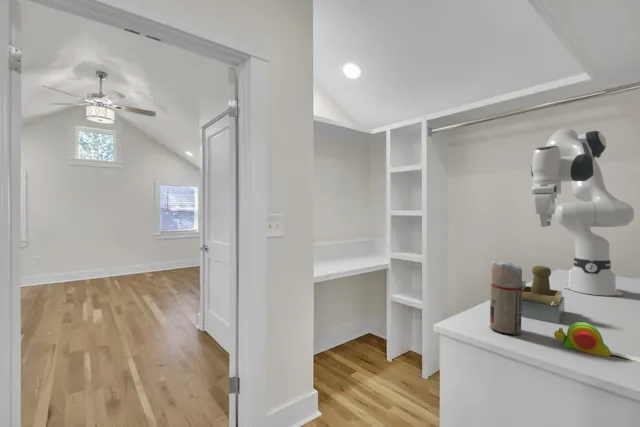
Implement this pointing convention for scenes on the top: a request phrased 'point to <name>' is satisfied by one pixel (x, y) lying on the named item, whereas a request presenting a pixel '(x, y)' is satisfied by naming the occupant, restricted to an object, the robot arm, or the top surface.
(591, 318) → the top surface
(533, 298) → the grey wooden box
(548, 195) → the robot arm
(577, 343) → the toy measuring tape
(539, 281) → the cork
